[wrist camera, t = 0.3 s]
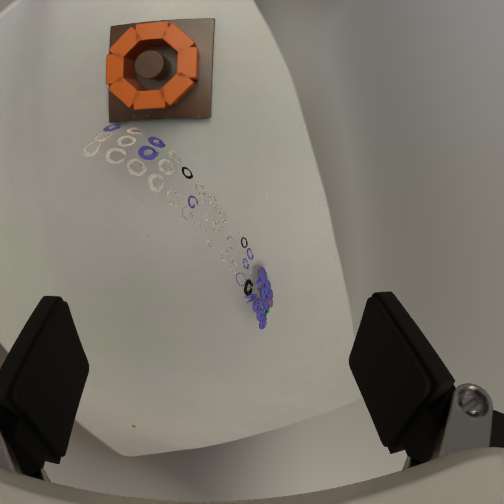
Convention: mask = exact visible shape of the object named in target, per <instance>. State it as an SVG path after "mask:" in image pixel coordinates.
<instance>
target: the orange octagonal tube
mask: <svg viewBox="0 0 504 504" xmlns="http://www.w3.org/2000/svg"><path fill="white" fill-rule="evenodd" d="M160 46H170V47H171V48H172V49H173V50H174V51H176V52H177V53H178V55H177V74H176V75H175V76H174V77H173V78H172V79H171V80H170V81H169V82H168V83H167V84H166V85H165V86H164V87H163V88H162V89H161V90H147V89H146V88H144V87H143V86H142V85H141V84H140V83H139V82H138V81H137V80H136V71H135V66H134V65H135V61H136V59H137V57H138V56H139V55H140V54H141V53H143V52H145V51H147V50H148V49H149V48H150V47H160ZM109 51H110V52H111V53H113V54H108V55H107V61H106V84H110V85H111V86H110V87H109V88H108V89H109V90H110V91H111V92H112V93H113V94H114V95H115V96H116V97H117V98H119V99H120V100H121V101H122V102H123V103H124V104H125V105H126V106H127V107H128V108H131V107H134V110H138V109H152V108H165V107H169V106H172V105H173V104H177V103H178V102H179V101H180V100H181V99H182V98H183V97H184V96H185V95H186V94H187V93H188V92H189V91H190V90H191V89H192V88H193V87H194V86H195V85H196V83H195V82H194V81H193V80H199V58H200V54H199V51H198V48H197V47H196V44H195V42H194V41H193V40H192V39H191V38H190V37H189V36H188V35H186V34H185V33H184V32H183V31H182V30H181V29H180V28H179V27H177V26H176V25H175V24H174V23H172V24H171V25H170V24H169V22H168V21H165V22H153V23H143V24H136V30H135V29H134V28H133V27H130V28H129V29H128V30H127V31H126V32H125V33H124V34H123V35H122V36H121V37H120V38H119V40H118V41H117V42H116V43H115V44H114V45H113V46H112V47H111V48H110V49H109Z"/></svg>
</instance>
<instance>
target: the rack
mask: <svg viewBox="0 0 504 504" xmlns="http://www.w3.org/2000/svg"><path fill="white" fill-rule="evenodd" d="M165 21H168V22H169V24H170V25H171V24H172V23H174V24H175V25H176V26H177V27H179V28H180V29H181V30H182V31H183V32H184V33H185V34H186V35H188V36H189V37H190V38H191V39H192V40H193V41H194V42H195V44H196V47H197V48H198V51H199V54H200V58H199V80H193V81H194V82H195V83H196V85H195V86H194V87H193V88H192V89H191V90H190V91H189V92H188V93H187V94H186V95H185V96H184V97H183V98H182V99H181V100H180V101H179V102H178V103H177V104H173V105H172V106H169V107H165V108H152V109H138V110H134V107H131V108H128V107H127V106H126V105H125V104H124V103H123V102H122V101H121V100H120V99H119V98H117V97H116V96H115V95H114V94H113V93H112V92H111V91H110V90H109V123H111V122H121V121H133V120H146V119H164V118H193V117H199V116H201V117H211V97H212V68H213V45H214V26H215V19H177V20H161V21H150V22H140V23H132V24H124V25H117V26H111V31H110V48H111V47H112V46H113V45H114V44H115V43H116V42H117V41H118V40H119V38H120V37H121V36H122V35H123V34H124V33H125V32H126V31H127V30H128V29H129V28H130V27H133V28H134V29H135V30H136V24H143V23H153V22H165ZM109 54H113V53H111V52H110V51H109ZM177 55H178V53H177V52H176V51H174V50H173V49H172V48H171V47H170V46H160V47H150V48H149V49H148V50H147V51H145V52H143V53H141V54H140V55H139V56H138V57H137V59H136V61H135V65H134V66H135V71H136V80H137V81H138V82H139V83H140V84H141V85H142V86H143V87H144V88H146V89H147V90H161V89H162V88H163V87H164V86H165V85H166V84H167V83H168V82H169V81H170V80H171V79H172V78H173V77H174V76H175V75H176V74H177ZM110 86H111V85H110V84H109V87H110ZM134 116H135V117H134Z"/></svg>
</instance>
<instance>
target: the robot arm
mask: <svg viewBox="0 0 504 504" xmlns="http://www.w3.org/2000/svg"><path fill="white" fill-rule="evenodd" d="M349 366H350V369H351V371H352V373H353V376H354V378H355V380H356V383H357V385H358V387H359V389H360V392H361V394H362V396H363V398H364V401H365V404H366V406H367V408H368V411H369V413H370V415H371V418H372V420H373V423H374V425H375V427H376V430H377V432H378V435H379V437H380V440H381V442H382V444H383V445H384V446H385V447H388V449H389V451H390V454H392V453H396V452H399V451H402V450H405V451H406V453H407V455H408V456H407V459H406V462H405V464H404V467H403V470H402V471H399V472H395V473H392V474H389V475H385V476H381V477H378V478H374V479H371V480H367V481H363V482H359V483H355V484H351V485H346V486H342V487H337V488H332V489H327V490H322V491H316V492H311V493H304V494H298V495H291V496H283V497H274V498H265V499H254V500H237V501H172V500H156V499H144V498H135V497H126V496H118V495H111V494H105V493H99V492H94V491H88V490H83V489H78V488H74V487H69V486H65V485H60V484H56V483H52V482H50V480H49V478H48V476H47V474H46V472H45V470H44V468H43V467H44V463H45V461H47V462H51V463H56V464H60V459H61V457H63V456H65V454H66V450H67V447H68V443H69V439H70V435H71V431H72V427H73V423H74V420H75V416H76V413H77V409H78V406H79V402H80V399H81V395H82V392H83V389H84V386H85V382H86V379H87V376H88V373H89V363H88V360H87V357H86V355H85V352H84V350H83V347H82V344H81V342H80V339H79V336H78V333H77V330H76V327H75V325H74V322H73V319H72V316H71V312H70V309H69V306H68V304H67V302H65V301H63V299H62V298H61V297H59V296H44V297H43V298H42V299H41V300H40V302H39V303H38V305H37V307H36V308H35V310H34V311H33V313H32V315H31V316H30V318H29V319H28V321H27V323H26V324H25V326H24V328H23V329H22V331H21V333H20V334H19V336H18V338H17V340H16V341H15V343H14V345H13V347H12V348H11V350H10V352H9V354H8V356H7V358H6V359H5V361H4V363H3V365H2V367H1V369H0V504H504V414H503V413H500V412H498V411H495V410H493V405H492V400H491V398H490V396H489V395H488V393H487V392H486V391H485V390H484V389H483V388H481V387H479V386H477V385H475V384H470V383H467V384H462V385H460V386H458V387H457V388H455V386H454V385H453V384H454V382H455V380H454V378H453V377H452V375H451V374H450V372H449V371H448V369H447V368H446V367H445V365H444V363H443V362H442V360H441V359H440V358H439V356H438V354H437V353H436V352H435V350H434V349H433V347H432V346H431V344H430V343H429V342H428V340H427V339H426V337H425V336H424V335H423V333H422V332H421V330H420V329H419V327H418V326H417V325H416V323H415V322H414V321H413V319H412V318H411V317H410V315H409V314H408V312H407V311H406V310H405V308H404V307H403V306H402V304H401V303H400V302H399V300H397V298H396V296H395V295H394V294H393V293H392V292H377V293H374V294H373V295H372V297H370V298H368V300H367V302H366V306H365V309H364V313H363V316H362V320H361V323H360V326H359V329H358V332H357V335H356V338H355V341H354V345H353V348H352V351H351V354H350V357H349Z"/></svg>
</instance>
